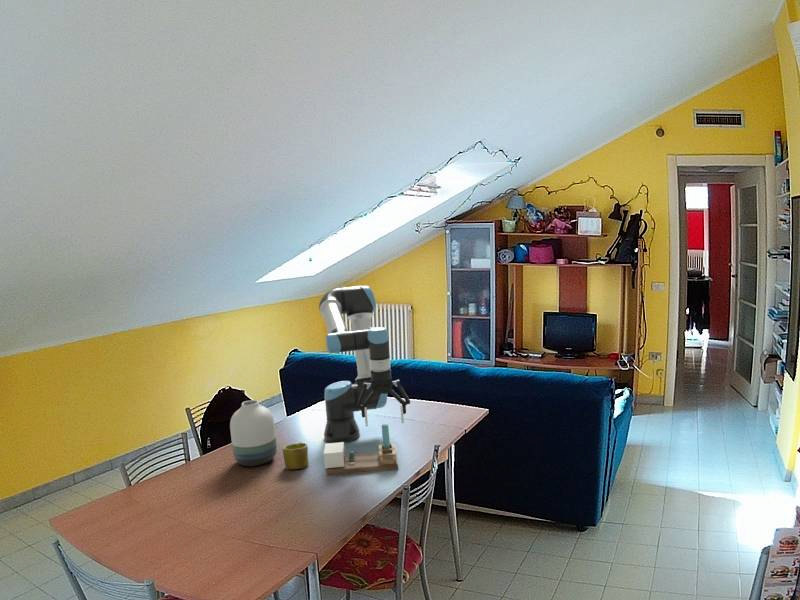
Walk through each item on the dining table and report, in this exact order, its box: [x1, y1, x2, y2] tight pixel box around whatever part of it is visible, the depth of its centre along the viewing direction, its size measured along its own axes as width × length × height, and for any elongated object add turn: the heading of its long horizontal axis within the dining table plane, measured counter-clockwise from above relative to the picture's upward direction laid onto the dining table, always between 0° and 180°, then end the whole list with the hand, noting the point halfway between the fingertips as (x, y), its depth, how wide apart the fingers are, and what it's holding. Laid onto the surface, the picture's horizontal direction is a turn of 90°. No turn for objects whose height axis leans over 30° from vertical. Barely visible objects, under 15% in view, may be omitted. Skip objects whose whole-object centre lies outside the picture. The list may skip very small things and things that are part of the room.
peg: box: [381, 423, 391, 449], centre depth 233 cm, size 2×2×12 cm
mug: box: [282, 441, 309, 471], centre depth 236 cm, size 12×10×10 cm
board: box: [326, 442, 399, 477], centre depth 231 cm, size 13×26×6 cm, turn 93°
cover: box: [323, 442, 346, 469], centre depth 230 cm, size 10×7×6 cm
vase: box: [229, 399, 278, 467], centre depth 242 cm, size 17×17×24 cm
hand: (384, 423), depth 233 cm, fingers open, 13 cm apart
